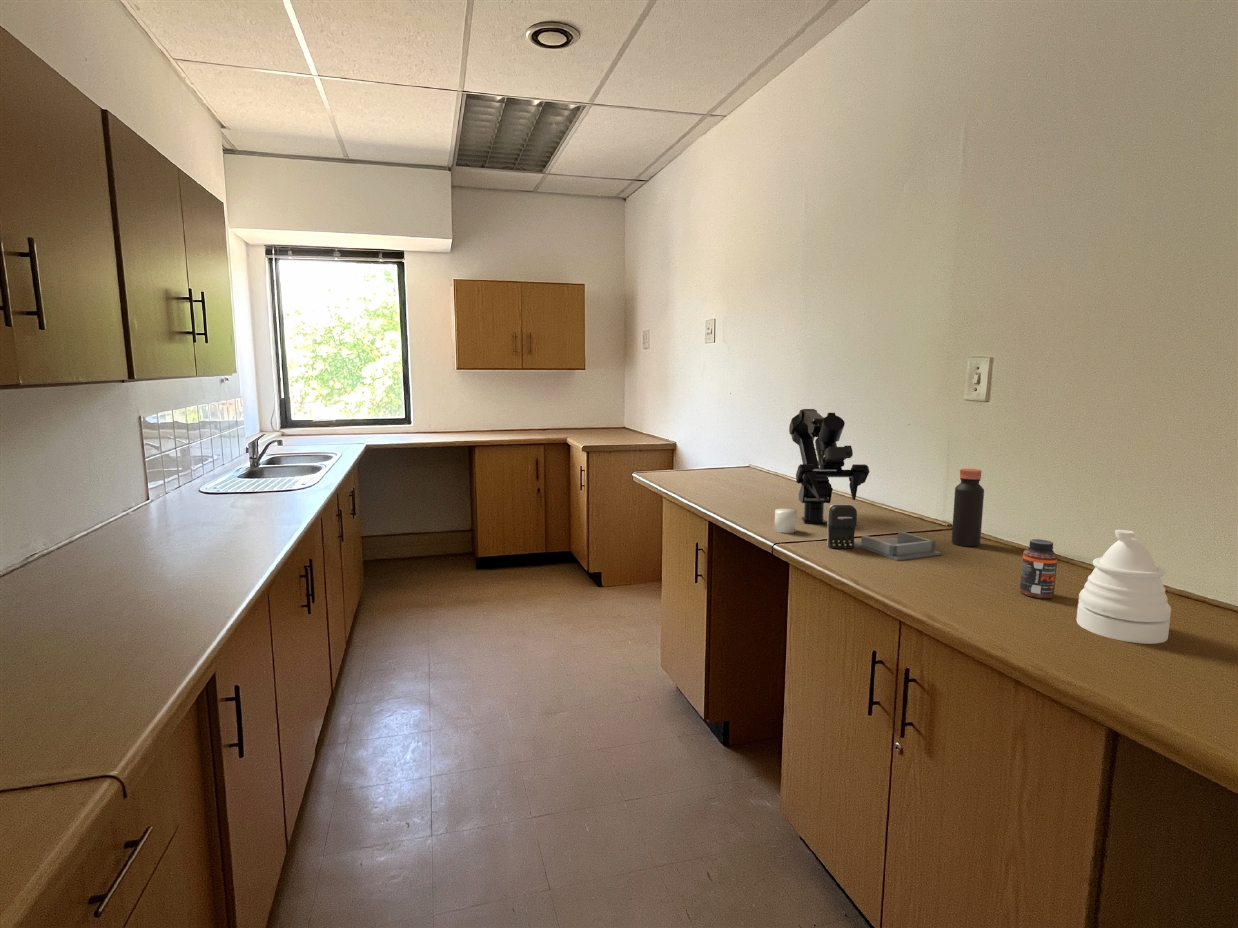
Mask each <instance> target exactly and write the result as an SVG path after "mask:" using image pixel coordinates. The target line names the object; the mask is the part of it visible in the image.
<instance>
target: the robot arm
mask: <svg viewBox="0 0 1238 928" xmlns="http://www.w3.org/2000/svg"><path fill="white" fill-rule="evenodd" d="M845 424H846V422H845V420H844V419H843V418H842V417H840V415H839V416H838V415H836V412H827V415H826V416H823V415H821V414H820V413H819V412H818V410H817V409H815V408H802V409H799V412H798V414H797V415H795V416H794V417H792V418H791V419H790V422H789V428H788V431H789V435H791V439H792V441H793V443H795V445H797V446H798V447H799V452H800V457H801V461H802V463H801V464H800V463H799V465H798V467H797V470H796V474H795V480H796V483H797V484H800V485H801V486H800V489H799V492H798V501H799V502H800V503H801V504H804V511H803V516H801V521H802V522H803V524H817V525H818V524H823V525H825V524H827V520H825V519H824V513H825V512H824V510H825V509H824V508H825V504H830V503H831V500H832V494H833V490H834V489H833V487H832V484H831V483H830V480H829V478H848V481H849V489H850V495H851V498H852V500H853V501H855V500H856V499H857V492H858V487H859V486H861V485H862V484H865V483H866V480H867V477H869V473H870V468H869V466H868V465H867V464H860V463H859V464H852V465H851V468H850V469H843V467H844V466H845V460H846V459H851V458H852V457H853V453H854V452H853V447H852V445H844V446H838V445H837V442H839V441H840V438H841V435H842V433H843V430H844V427H845Z"/></svg>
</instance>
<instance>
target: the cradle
mask: <svg viewBox="0 0 1238 928" xmlns="http://www.w3.org/2000/svg"><path fill="white" fill-rule="evenodd" d="M897 532H898V533H897V534H898V535H897V537H888V538H880V539H877V538H875V537H872V536H868V535H861V540H860V541H854V547H855V546H856V547H858V548H861V549H863V550H866V551H870V552H873V553H875V554H878V555H880V556H883V557H885V558H889V559H891V560H894V561H897V562H898V561H904V560H914V559H919V558H928V557H935V556H941V555H942V552H941V551H938V550H935V549H936V541H935V540H932V539H929V538H926V537H923V536H919V535H915V534H913V533H908V532H906V531H902V530H901V531H897Z"/></svg>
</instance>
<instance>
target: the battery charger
mask: <svg viewBox="0 0 1238 928" xmlns="http://www.w3.org/2000/svg"><path fill="white" fill-rule="evenodd" d="M857 522H858V511H857V509H856V507H854V505H852V504H845V503H844V504H843V503H841V504H840V503H839V504H837V503H836V504H831V505H830V506H829V507H828V509H827V521H826V524H827V525H826V526H827V541H826V546H827V547H829V548H831V549H840V550H841V549H844V550H845V549H846V550H847V549H853V548H854V547H855V545H854V542H855V531H856V527H857V526H858V525H857Z"/></svg>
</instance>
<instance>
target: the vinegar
mask: <svg viewBox="0 0 1238 928" xmlns="http://www.w3.org/2000/svg"><path fill="white" fill-rule="evenodd" d="M959 479H960V482H959V484H958V485H956V486H955V488H954V498H953V499H954V500H953V515H952V517H953V518H952V530H951V543H952V544H954V545H956V546H961V547H965V548H966V547H967V548H968V547H969V548H971V547H972V548H976V547H979V546H980V545H981V538H982V537H981V535H982V524H983V513H984V512H983V511H984V500H985V499H984V496H985V489H984V487H982V486H981V484H980V482H981V479H982V470H981V469H976V468H960V470H959Z"/></svg>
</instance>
